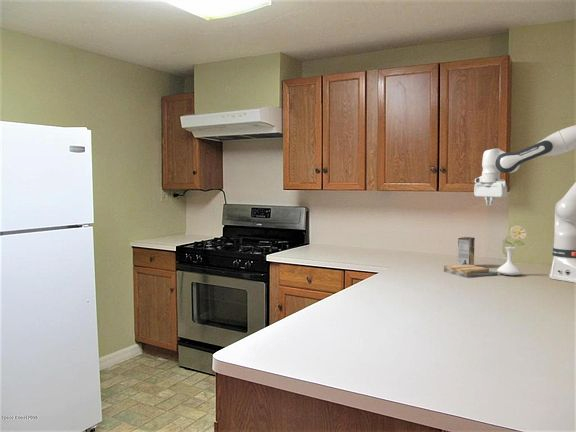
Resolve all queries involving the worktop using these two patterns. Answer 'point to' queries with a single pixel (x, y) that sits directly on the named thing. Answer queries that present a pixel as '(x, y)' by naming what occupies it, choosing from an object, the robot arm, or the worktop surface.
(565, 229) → the robot arm
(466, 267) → the light wood flat slab
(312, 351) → the worktop surface
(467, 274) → the underlay panel
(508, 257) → the flower in vase
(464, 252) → the coffee box
